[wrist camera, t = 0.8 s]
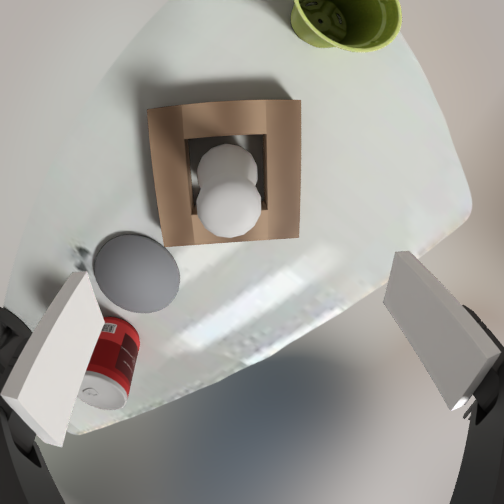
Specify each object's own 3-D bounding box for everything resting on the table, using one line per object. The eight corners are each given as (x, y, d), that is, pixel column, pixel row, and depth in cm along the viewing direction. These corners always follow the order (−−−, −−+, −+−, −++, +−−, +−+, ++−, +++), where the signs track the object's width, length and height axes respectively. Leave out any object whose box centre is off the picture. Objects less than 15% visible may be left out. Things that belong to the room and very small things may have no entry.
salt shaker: (247, 134, 28) (265, 155, 17) (260, 186, 31) (284, 239, 20) (191, 150, 29) (170, 182, 17) (207, 201, 31) (199, 261, 20)
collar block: (168, 234, 33) (164, 247, 30) (153, 108, 26) (146, 109, 24) (292, 226, 34) (298, 237, 31) (293, 100, 27) (300, 100, 24)
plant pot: (372, 53, 25) (417, 44, 17) (295, 73, 26) (322, 62, 18) (340, -18, 20) (374, -46, 13) (259, -2, 21) (273, -36, 14)
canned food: (82, 330, 38) (59, 386, 29) (111, 305, 37) (86, 365, 27) (120, 359, 42) (105, 416, 32) (151, 338, 40) (139, 400, 30)
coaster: (109, 311, 37) (108, 313, 36) (86, 238, 32) (84, 240, 31) (186, 308, 38) (185, 311, 37) (172, 230, 33) (171, 232, 32)
